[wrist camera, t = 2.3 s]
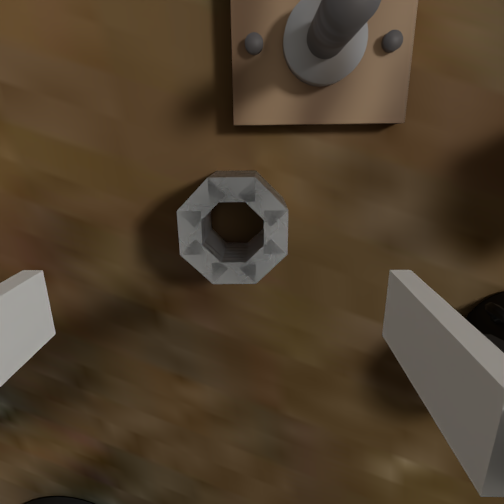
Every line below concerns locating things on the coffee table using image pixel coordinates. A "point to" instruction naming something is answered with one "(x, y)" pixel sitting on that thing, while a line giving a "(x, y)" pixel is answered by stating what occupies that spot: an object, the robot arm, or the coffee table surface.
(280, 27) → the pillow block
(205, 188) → the ring
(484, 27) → the coffee table surface
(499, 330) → the mug
